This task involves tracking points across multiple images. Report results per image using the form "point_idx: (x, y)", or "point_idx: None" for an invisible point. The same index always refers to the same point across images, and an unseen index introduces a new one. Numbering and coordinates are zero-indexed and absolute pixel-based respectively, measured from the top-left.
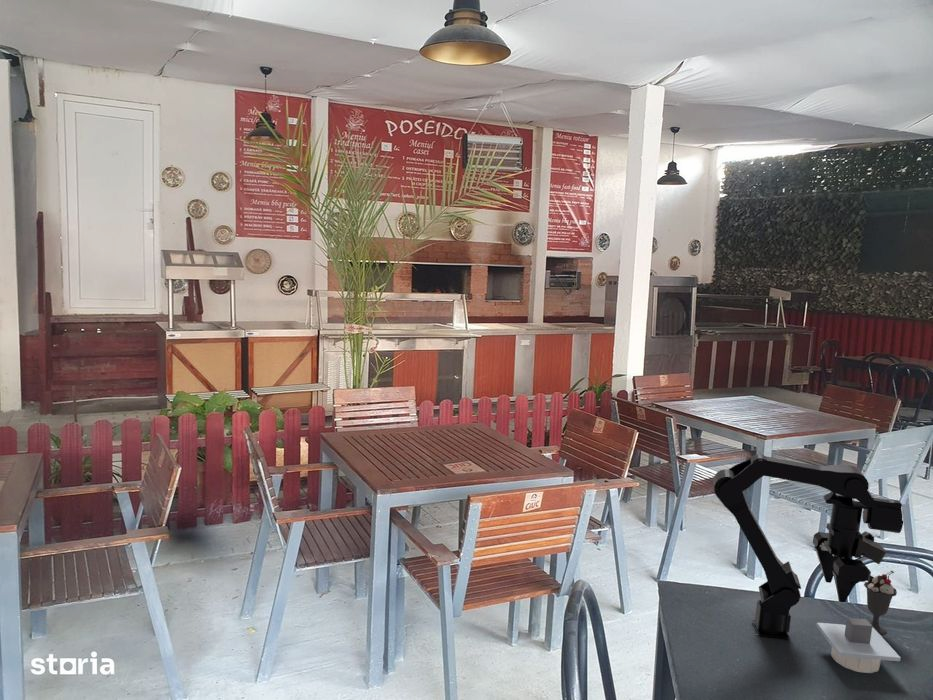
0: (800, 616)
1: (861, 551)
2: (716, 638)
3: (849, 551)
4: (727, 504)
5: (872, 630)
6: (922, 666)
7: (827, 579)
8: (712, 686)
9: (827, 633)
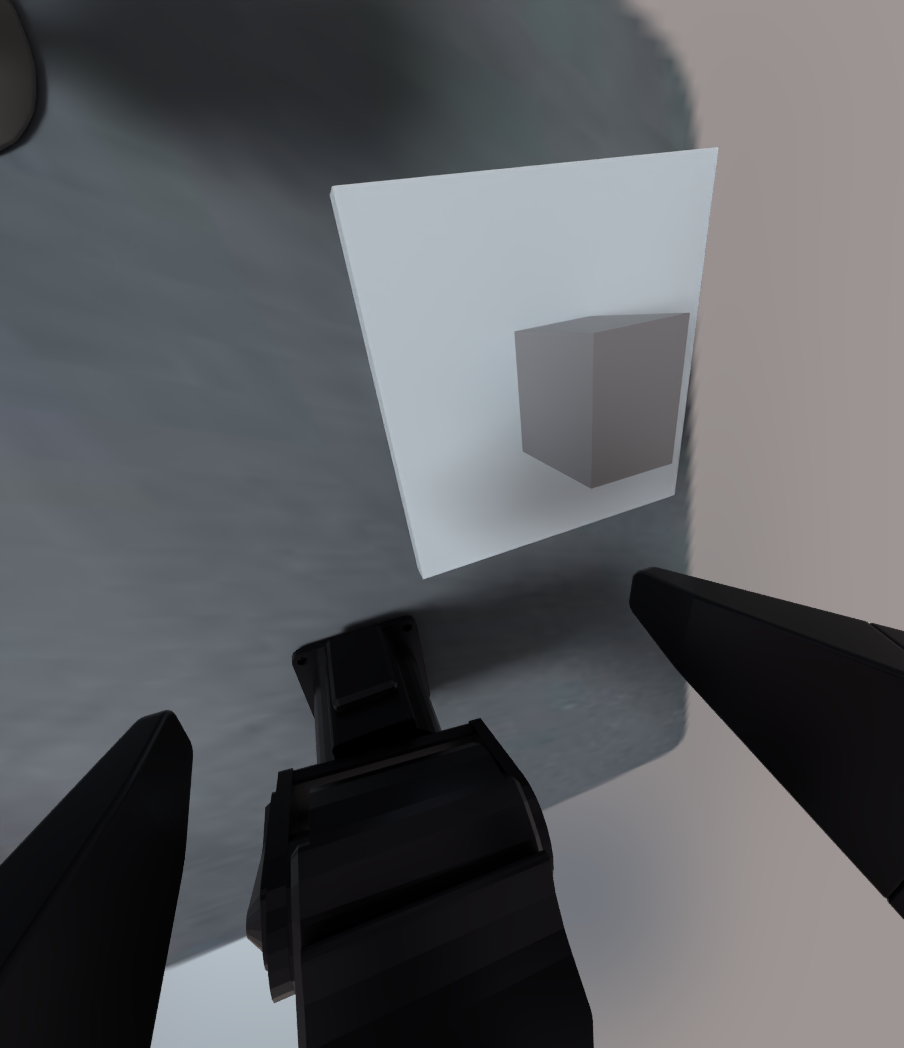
0: (109, 581)
1: None
2: None
3: None
4: None
5: (400, 218)
6: None
7: (180, 779)
8: (670, 717)
9: (526, 534)
